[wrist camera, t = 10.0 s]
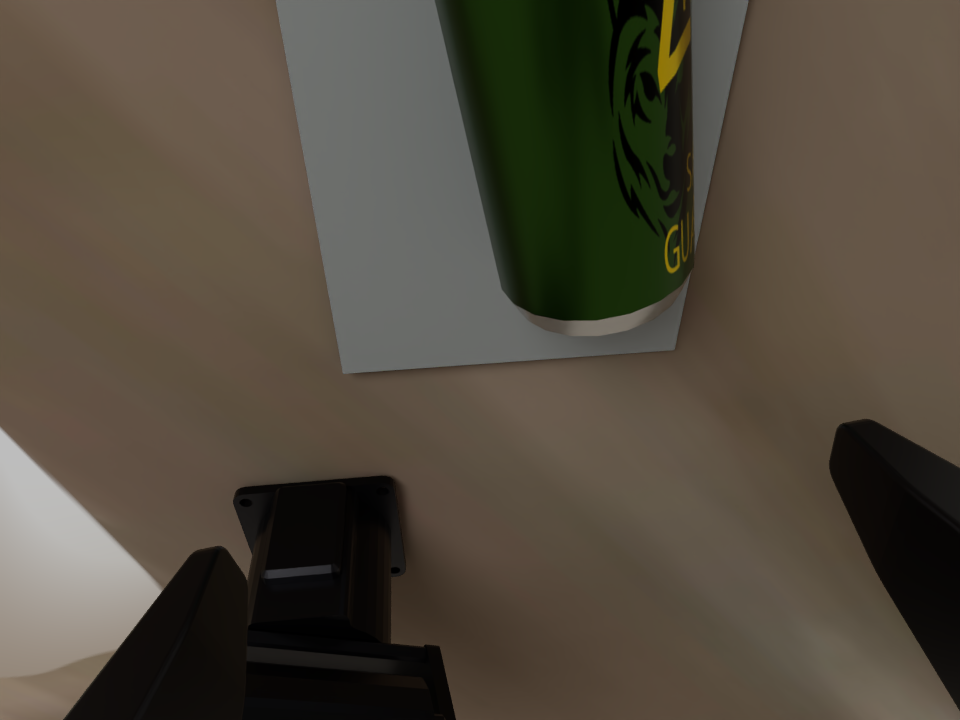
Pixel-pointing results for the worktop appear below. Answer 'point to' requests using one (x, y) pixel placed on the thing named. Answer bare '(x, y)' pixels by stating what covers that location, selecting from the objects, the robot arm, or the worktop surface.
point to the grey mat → (438, 187)
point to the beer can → (580, 152)
